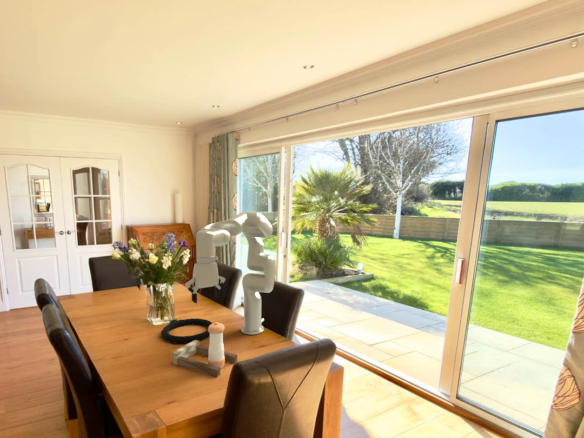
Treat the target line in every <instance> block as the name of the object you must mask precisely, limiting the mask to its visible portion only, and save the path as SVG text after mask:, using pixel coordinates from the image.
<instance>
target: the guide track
mask: <svg viewBox="0 0 584 438" xmlns="http://www.w3.org/2000/svg"><path fill="white" fill-rule="evenodd" d="M208 350H209V346H205V345H200V341H198V340H194V341H192V342H190V343H186V344H185V345H184V346H181V347H180V348H177V349H176V350H175V351H173V352H172V364H173V365H177V366H179V367H182V368H186V369H189V370H192V371H195V372H199V373H201V374H202V373H203V374H206V375H209V376H213V377H216V378H218V377H219V376H220V375H221V369H220V367H216V366H213V365H209V364H208V363H206V362H201V361H199V360H196V359H195V360H194V359H191V358H190V357H192V356H194V355H196V354H197V355H198V354H199V355H202V356H206V357H209V356H208ZM224 356H225V362H228V363H231V364H236V363H238V355H237V354H235V353H231V352H227V351H224Z"/></svg>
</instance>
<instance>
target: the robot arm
mask: <svg viewBox="0 0 584 438" xmlns="http://www.w3.org/2000/svg"><path fill="white" fill-rule="evenodd" d="M273 232H274V227H273V225H272V224H271V222H270V221H269V220H268V218H266V216H265V215H263V214H262V213H260V212H258V211H257V212H256V211H255V212H254V211H243V212H240V213H237V214H236V215H235V216H233V217H230V218H228V219H225V220H221V221H218V222H213V223H210V224H208V225H206V226H204V227H202V228H201V229H200V230H199V231H197V232H196V236H195V237H196V241H195V243H196V245H195V246H196V248H195V249H196V263H194V266H193V271H192V278H191V279H190V280H188V281H187V282H185V283H184V285H185V288H186V289H187V290H188V292H190V293H191V301H192V302H193V303H194V304H197V303H198V293H197V291H199V289H204V288H211V287H214V298H215V299H216V300H219V299H220V295H221V294H220V293H221V292H220V291H221V289H222V287H223V286H224V283H225V282H226V277H223V276H220V275H219V269H218V263H217V262H216V260H218V259H219V256H218V255H216V247H224V246H226V245H228V243H230V240H231V237H234V236H238V235H239V234H241V233H242V234H243V235H244V236H245V238H246V240H247V244H248V250H247V258H246V266H247V267H246V268H247V269H248V270H250V271H253V272H262V273H253V272H252V273H251V272H249V273H246V274H245V275H244V276H243V277H242V280H241V285H242V292H243V326H241V328H240V331H241V333H243V334H244V335H250V336H252V335H254V336H255V335H259V334H261V333H263V332H264V331H265V327H264V325H262V323H263V322H264V321H265V318H264V317H263V318H262V296H261V294H260V293H265V294H266V293H267V294H270V293H271V292H272V291H273V290H274V285H275V278H276V277H275V275H276V268H277V267H276V266H277V264H276V263H277V262H276V259H275V257H274V255H272V254H265V253H264V249H265V243H264V241H263V240H262V239H269V238H271V236H272V235H273ZM263 273H264V274H263ZM219 280H220V281H219ZM191 285H192V287H191Z"/></svg>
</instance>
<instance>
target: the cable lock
mask: <svg viewBox="0 0 584 438" xmlns="http://www.w3.org/2000/svg"><path fill="white" fill-rule="evenodd" d="M211 324H213V322H211V320H208V319H205V318H204V319H203V318H184V319H182V318H181V319H174V318H173V319H171V320H170V321H169V323H168V324H167V325H165V326H164V327H163V329H162V330H161V333H160V336H161V338H162V339H163V340H164V341H165V342H169V343H172V344H178V345H179V344H183V345H184V344H189V343H190V342H192V341H194V340H198V341H199V342H201V341H203V340H205V339H207V338H210V333H209V331H208V327H209V325H211ZM192 325H193V326H194V325H195V326H196V325H197V326H203V327H205V328H207V329H206V330H204V331H203V332H200V333H196V334H192V335H185V336H181V335H174V334H171V333H170V332H171V331H172V330H174V329H177V328H180V327H184V326H192Z"/></svg>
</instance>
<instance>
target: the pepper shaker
mask: <svg viewBox="0 0 584 438" xmlns="http://www.w3.org/2000/svg"><path fill="white" fill-rule="evenodd" d="M212 323H213V322H212ZM225 328H226V327H225V325H224V324H223V323H221V322H219V321H215V322H214V323H213V324H211V325H209V327H207V329H208V331H209V333H210V336H209V345H208V347H209V350H208V356H207V364H209V365H213V366H216V367H220V370H221V369H223V368H225V366H226V365H225V364H226V361H225V356H224V352H225V345H224V339H223V338H224V331H225Z"/></svg>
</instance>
